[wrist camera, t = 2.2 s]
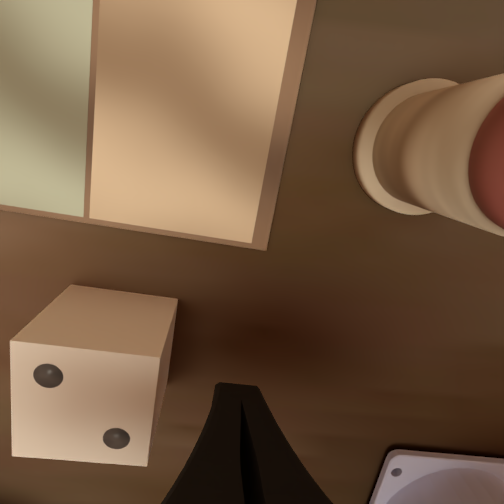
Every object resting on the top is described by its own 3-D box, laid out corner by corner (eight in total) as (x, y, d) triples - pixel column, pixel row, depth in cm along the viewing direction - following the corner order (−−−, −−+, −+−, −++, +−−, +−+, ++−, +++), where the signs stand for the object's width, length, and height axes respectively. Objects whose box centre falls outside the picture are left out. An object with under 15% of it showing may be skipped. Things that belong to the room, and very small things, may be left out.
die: (167, 383, 15) (146, 466, 11) (68, 373, 14) (11, 456, 11) (178, 298, 14) (160, 357, 10) (71, 283, 13) (9, 340, 10)
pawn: (448, 219, 13) (712, 313, 6) (338, 200, 13) (485, 278, 6) (491, 96, 12) (885, 31, 5) (371, 69, 12) (616, -49, 4)
